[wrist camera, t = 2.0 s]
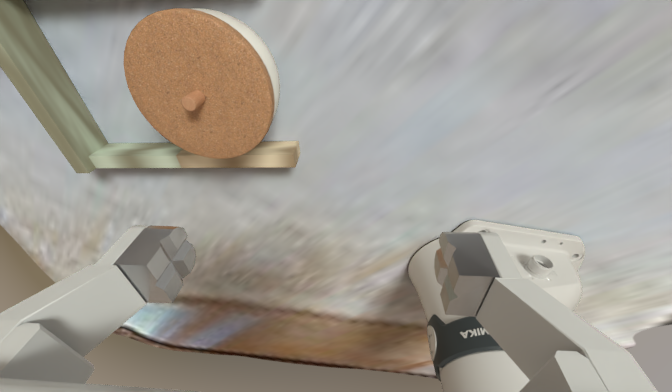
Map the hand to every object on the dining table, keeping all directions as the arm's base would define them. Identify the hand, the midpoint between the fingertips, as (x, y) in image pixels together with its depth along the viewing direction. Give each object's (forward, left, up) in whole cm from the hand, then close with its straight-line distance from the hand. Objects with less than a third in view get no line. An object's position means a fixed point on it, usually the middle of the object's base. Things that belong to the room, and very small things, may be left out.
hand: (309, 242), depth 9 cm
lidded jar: (+10, 0, -22) cm, 24 cm away
